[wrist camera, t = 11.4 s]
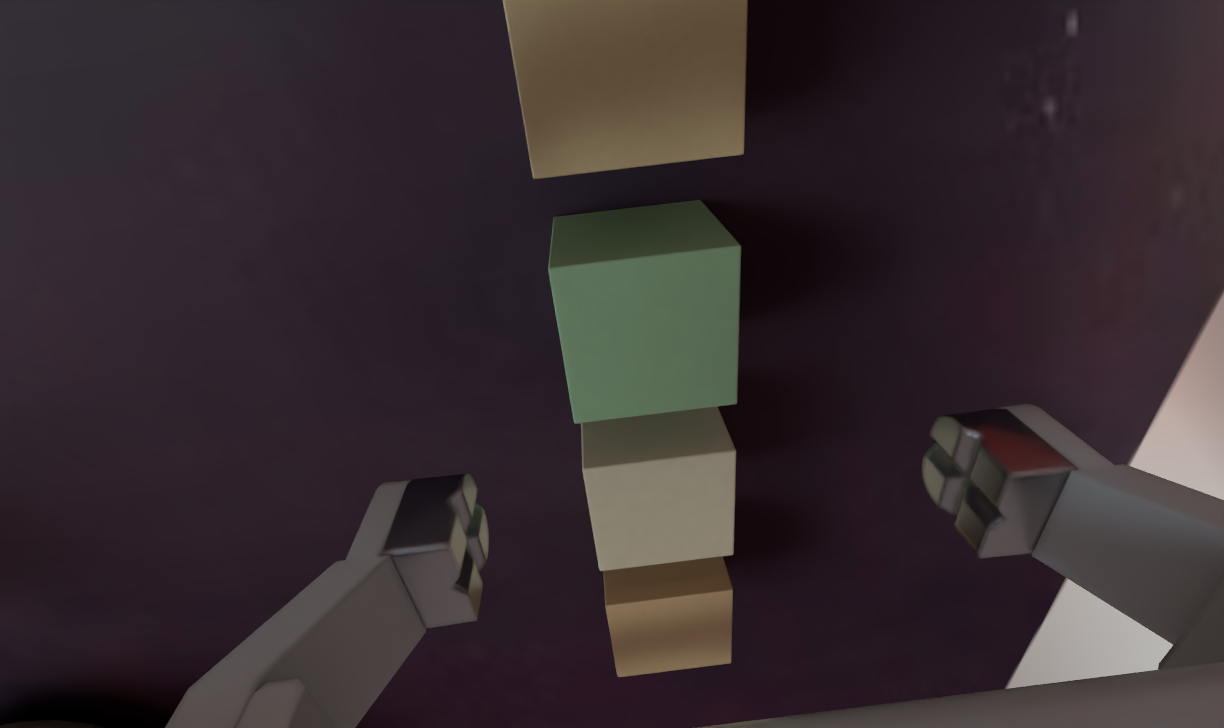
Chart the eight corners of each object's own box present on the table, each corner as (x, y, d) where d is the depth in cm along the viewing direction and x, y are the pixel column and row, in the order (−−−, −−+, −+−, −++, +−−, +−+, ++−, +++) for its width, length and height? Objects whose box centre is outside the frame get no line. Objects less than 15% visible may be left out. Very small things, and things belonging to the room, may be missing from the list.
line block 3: (599, 510, 25) (605, 606, 21) (705, 497, 25) (733, 590, 21) (610, 579, 27) (617, 677, 23) (705, 567, 27) (731, 663, 23)
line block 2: (579, 385, 21) (582, 469, 17) (703, 370, 21) (736, 450, 17) (594, 478, 24) (599, 572, 20) (704, 465, 24) (734, 555, 20)
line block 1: (511, -52, 14) (486, -97, 10) (696, -73, 14) (752, -128, 10) (542, 147, 17) (532, 179, 12) (699, 128, 17) (744, 154, 12)
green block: (553, 216, 18) (548, 268, 14) (700, 198, 18) (742, 245, 14) (573, 346, 20) (574, 424, 16) (702, 330, 20) (737, 404, 16)
